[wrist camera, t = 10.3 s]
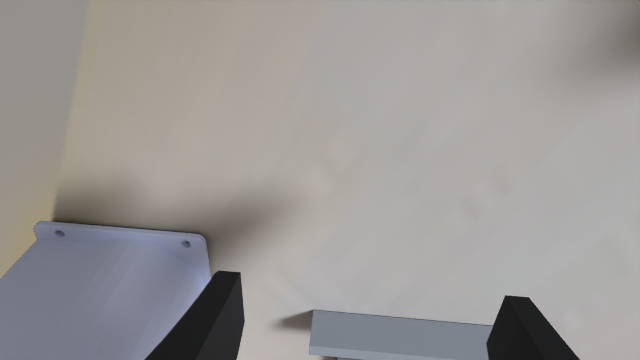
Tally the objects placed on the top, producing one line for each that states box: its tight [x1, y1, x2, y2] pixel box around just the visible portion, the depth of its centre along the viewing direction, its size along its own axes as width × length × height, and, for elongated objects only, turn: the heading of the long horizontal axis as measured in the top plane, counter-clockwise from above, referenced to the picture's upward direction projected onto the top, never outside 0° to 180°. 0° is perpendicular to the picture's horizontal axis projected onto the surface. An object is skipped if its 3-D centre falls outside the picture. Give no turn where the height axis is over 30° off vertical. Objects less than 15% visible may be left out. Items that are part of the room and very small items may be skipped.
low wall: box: [309, 310, 493, 360], centre depth 25 cm, size 14×1×2 cm, turn 88°
